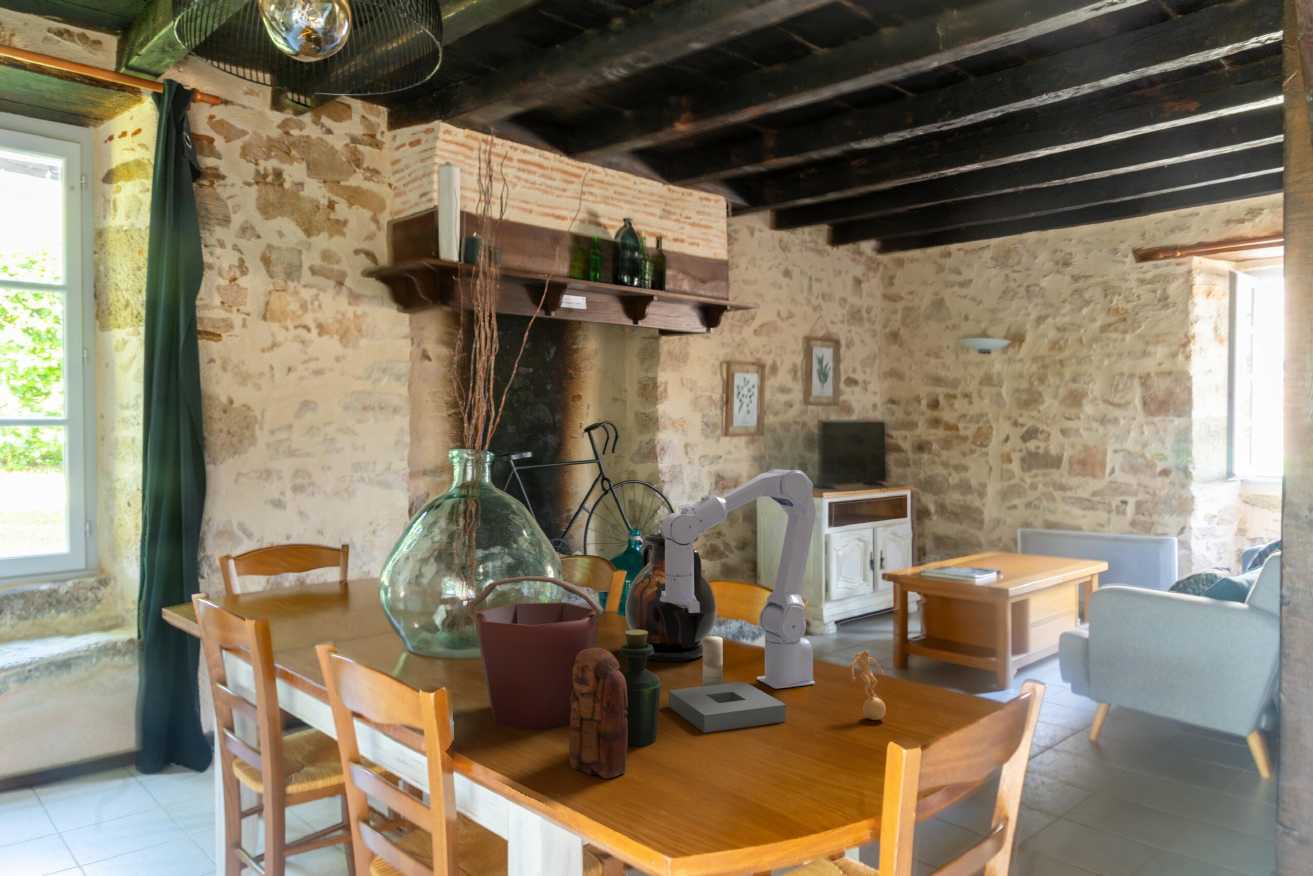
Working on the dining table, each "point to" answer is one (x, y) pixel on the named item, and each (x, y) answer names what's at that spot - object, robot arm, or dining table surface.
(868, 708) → the figurine
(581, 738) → the wooden figurine
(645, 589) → the amphora vase
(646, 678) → the potion bottle
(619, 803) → the dining table surface
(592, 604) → the bucket
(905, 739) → the dining table surface
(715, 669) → the birch dowel
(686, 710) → the socket block
